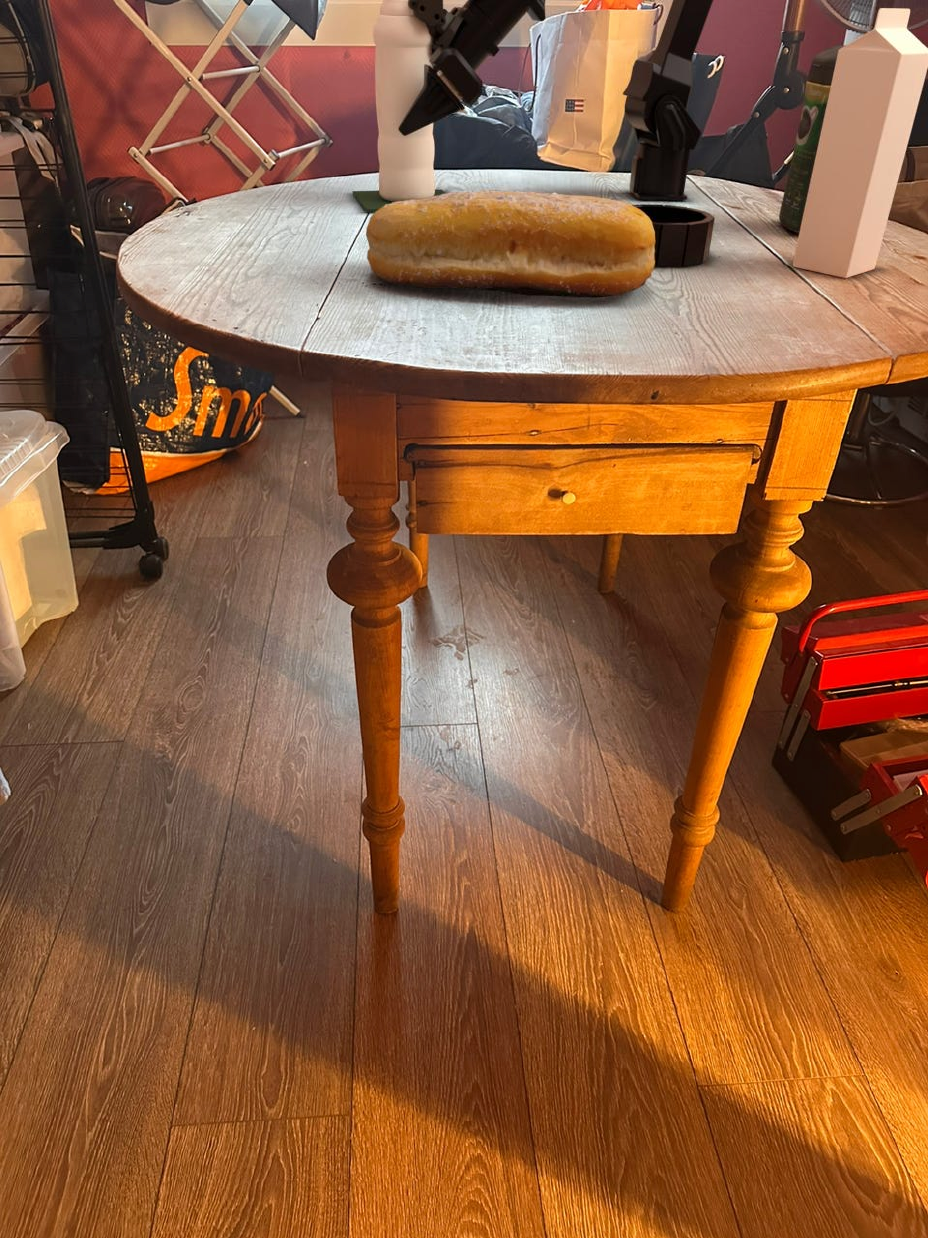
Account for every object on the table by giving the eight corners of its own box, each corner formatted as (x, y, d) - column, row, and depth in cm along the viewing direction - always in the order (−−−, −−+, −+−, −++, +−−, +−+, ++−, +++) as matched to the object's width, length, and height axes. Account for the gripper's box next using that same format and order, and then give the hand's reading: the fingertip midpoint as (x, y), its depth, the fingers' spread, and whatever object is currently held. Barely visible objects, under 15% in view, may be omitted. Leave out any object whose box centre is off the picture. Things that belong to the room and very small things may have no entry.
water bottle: (384, 204, 113) (375, -46, 99) (375, 193, 119) (365, -45, 105) (440, 202, 115) (439, -45, 100) (428, 191, 120) (426, -44, 106)
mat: (441, 192, 123) (441, 189, 123) (462, 210, 113) (463, 206, 113) (352, 194, 121) (352, 190, 120) (366, 212, 111) (366, 209, 111)
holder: (691, 243, 101) (698, 204, 99) (719, 267, 93) (726, 224, 90) (600, 243, 100) (604, 203, 98) (619, 266, 92) (624, 223, 90)
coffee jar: (861, 240, 105) (910, 48, 94) (791, 237, 105) (832, 45, 94) (835, 222, 113) (877, 43, 102) (770, 220, 113) (806, 41, 102)
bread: (656, 311, 79) (670, 212, 75) (353, 296, 81) (348, 198, 76) (647, 272, 90) (658, 183, 86) (380, 260, 92) (377, 172, 87)
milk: (874, 269, 93) (945, 9, 81) (845, 279, 90) (914, 8, 77) (820, 257, 97) (880, 7, 85) (790, 266, 94) (847, 6, 81)
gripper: (420, -39, 111) (335, 67, 115) (456, -42, 96) (356, 80, 100) (482, 39, 117) (398, 137, 121) (524, 47, 102) (427, 159, 106)
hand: (394, 127), depth 112 cm, fingers open, 9 cm apart
